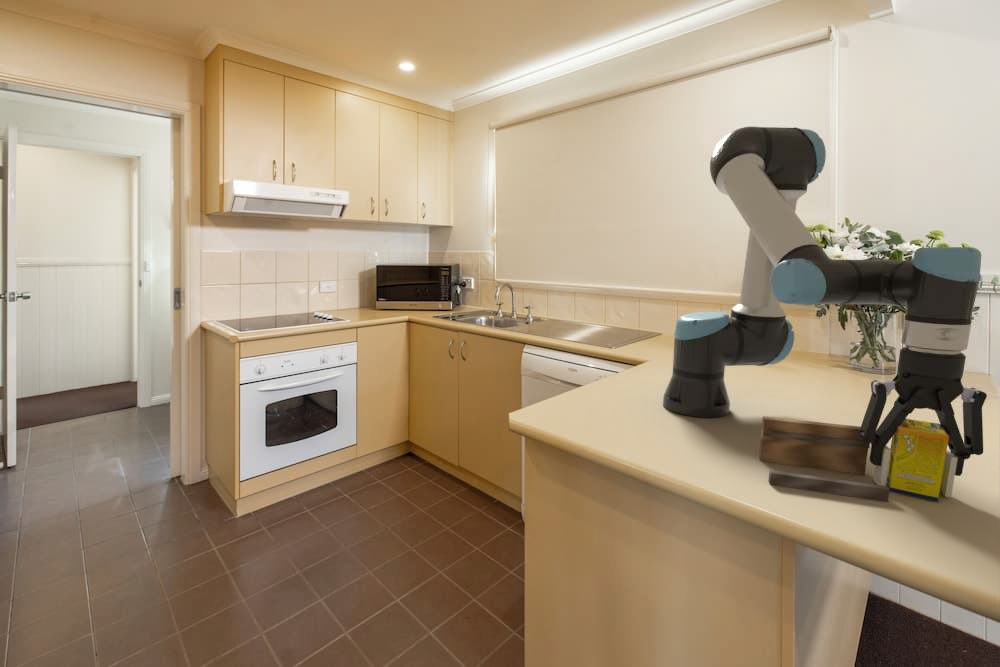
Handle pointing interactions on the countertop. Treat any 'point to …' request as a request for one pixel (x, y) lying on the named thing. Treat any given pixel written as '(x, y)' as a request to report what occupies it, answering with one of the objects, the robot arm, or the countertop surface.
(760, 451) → the wooden rack
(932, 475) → the supplement box
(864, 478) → the countertop surface
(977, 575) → the countertop surface
